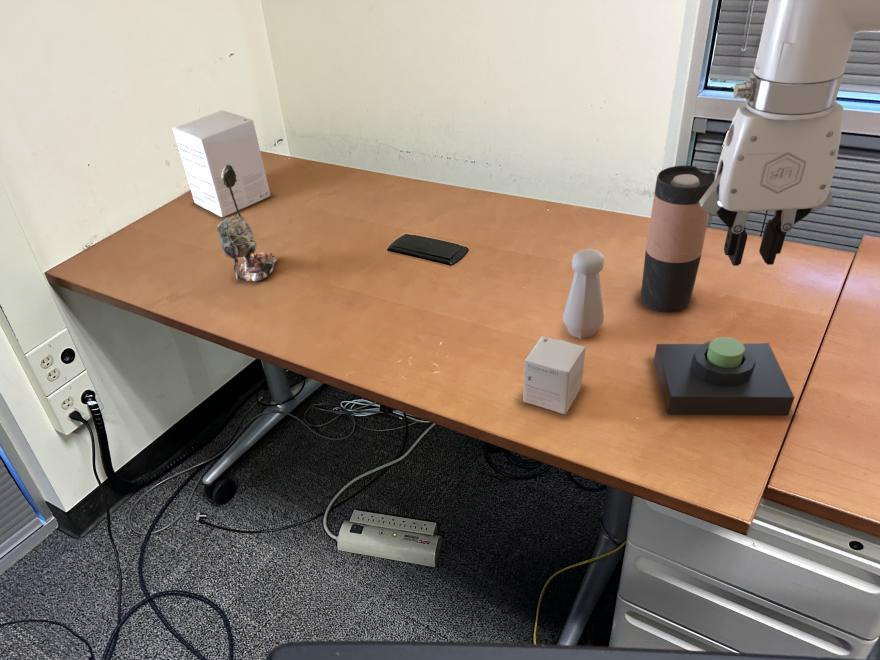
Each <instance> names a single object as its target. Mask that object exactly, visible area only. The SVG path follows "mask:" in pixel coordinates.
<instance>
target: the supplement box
mask: <svg viewBox="0 0 880 660" xmlns="http://www.w3.org/2000/svg"><path fill="white" fill-rule="evenodd" d="M172 132H173V135H174V138H175V142H176V146H177V148H178V151H179V156H180V159H181V162H182V165H183V168H184V173H185V175H186V178H187V182H188V185H189V189H190V191H191V196H192V199H193V201H194V204H196V205H198V206H200V207H201V208H203V209H205V210H207V211H209V212H211V213H212V214H215V215H217V216H218V217H221V218H225V217H227V216H229V215H231V214H234V213H237V210H236V207H235V205H234V201H233V199H232V196H231V193H230V189H229V188H227V187H226V186H225V185H224V183H223V181H222V178H221V173H222V171H223V169H224V167H225V166H226V165H231V166H232V168H233V170H234V171H235V174H236V180H237V182H235V185H234V186H233V187H231V188H232V192H233V196H234V199H235V202H236V204H237V208H238V210H239V211H241V210H243V209H245V208H247V207H249V206H252V205H254V204H256V203H258V202H260V201H263V200H266V199H268V198H269V197H271V191H270V187H269V181H268V179H267V174H266V170H265V166H264V165H265V164H264V162H263V157H262V152H261V149H260V143H259V140H258V135H257V132H256V127H255V122H254V119H252V118H248V117H245V116H242V115H239V114H236V113H232V112H229V111H226V110H218V111H216V112H213V113H211V114H208V115H205V116H203V117H200V118H198V119H197V118H196V119H195V120H192V121H188V122H186V123H184V124H180V125H178V126H174V127H172Z"/></svg>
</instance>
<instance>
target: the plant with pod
mask: <svg viewBox="0 0 880 660" xmlns="http://www.w3.org/2000/svg"><path fill="white" fill-rule="evenodd" d="M221 178H222V181H223V183H224V185H225V186H226V187H227V188H229V189H230V193H231V196H232V199H233V201H234V205H235V207H236V210H237V211H236V213H237V214H234V215H232V216H230V217H226V218H224V219H223V220H221V221H220V222H219V223H218V225H217V227H216V229H217V233H218V236H219V237H218V238H219V242H220V245H221V248H222V251H223V253H224V254H225V256H226V258H229V259H232V260H233V261H234V262H233V263H234V265H233V270H234V274H235V280H241V281H245V282H248V281H249V282H259V281H262V280H264V279H266V278H267V277H268V276H269V275H270V274H271V273H272V272H273V271H274V267H275V265H276V264H277V262H276V261H278V260H279V259H278V258H277V256H275V255H273V253H269V254H268V253H266V252H265V251H261V252H260V253H255V252H256V250H257V248H258V247H257V245H258V244H257V241H256V237H255V234H254V232H253V230H252V228H251V226H250V224H249V223H248V221H247V220H246V218H245V217H243V216H242V215H241V213H240V210H238V208H237V204H236V202H235V199H234V196H233V192H232V188H231V187H233V186H234V185H235V182H237V180H236V174H235V171H234V170H233V168H232V166H231V165H226V166H225V167H224V169H223V171H222V173H221ZM214 224H217V223H216V221H214ZM239 258H242V259H243V260H244V262H242V263H241V264H240V265H239Z"/></svg>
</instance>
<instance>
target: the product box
mask: <svg viewBox="0 0 880 660" xmlns="http://www.w3.org/2000/svg"><path fill="white" fill-rule="evenodd" d="M586 349H587V347H586V346H584V345H580V344H576V343H573V342H569V341H566V340H563V339H556V338H552V337H548V336H545V335H541V337H540V338H539V340H538V341H537V342H536V343H535V345H534V347H533V348H532V350H531V351H530V352H529V354H528V355H527V357H526V358H525V359H524V368H523V369H524V370H523V395H522V397H523V398H522V401H523V402H524V403H526V404H530V405H533V406H536V407H540V408H543V409H546V410H548V411H553V412H555V413H559V414H561V415H567V413H568V412H569V410H570V408H571V406H572V404H573V402H574V401H575V399H576V398H577V396H578V394H579V392H580V391H581V390H582V384H583V377H584V368H585V367H584V366H585V357H586Z"/></svg>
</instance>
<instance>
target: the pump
mask: <svg viewBox="0 0 880 660" xmlns="http://www.w3.org/2000/svg"><path fill="white" fill-rule="evenodd" d="M710 341H711V342H710V345H709V349H708V353H707V360H708V362H710V363H711V364H713V365H715V366H719V367H722V368H735V367H738V366H739V365H740V364H741V362H742V358H743V355H744V351H745V347H744V345H743V344H742V342H741V341H739V340H738V339H735V338H732V337H728V336H727V337H726V336H721V337H716V338H713V339H711V340H710Z"/></svg>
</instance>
